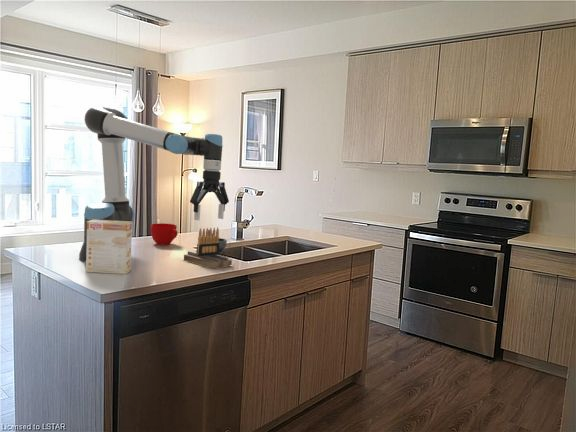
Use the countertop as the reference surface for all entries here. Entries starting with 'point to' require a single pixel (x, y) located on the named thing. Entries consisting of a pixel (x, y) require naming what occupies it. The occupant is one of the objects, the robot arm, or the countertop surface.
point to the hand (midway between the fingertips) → (209, 219)
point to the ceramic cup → (163, 233)
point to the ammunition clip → (208, 242)
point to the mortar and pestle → (221, 245)
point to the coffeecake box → (108, 246)
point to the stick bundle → (208, 260)
